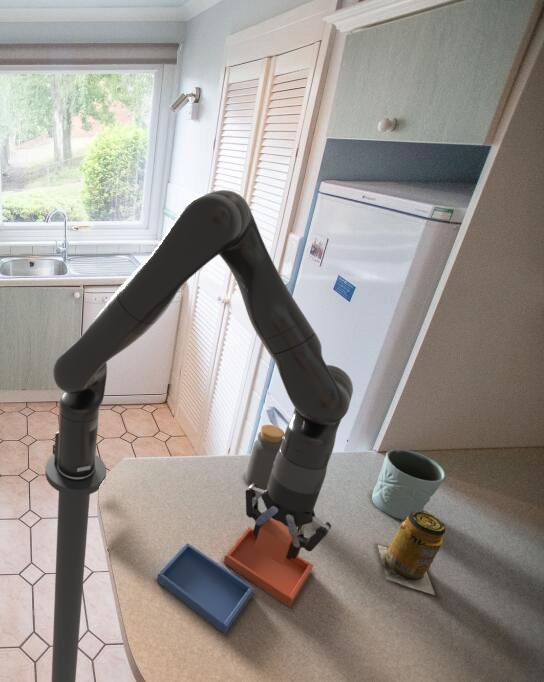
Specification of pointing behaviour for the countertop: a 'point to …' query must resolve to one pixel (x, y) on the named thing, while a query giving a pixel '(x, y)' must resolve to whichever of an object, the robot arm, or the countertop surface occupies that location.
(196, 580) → the blue tray
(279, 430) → the bottle
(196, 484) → the countertop surface
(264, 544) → the block
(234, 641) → the countertop surface
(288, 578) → the terracotta tray
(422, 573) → the condiment
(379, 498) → the light teal planter pot
